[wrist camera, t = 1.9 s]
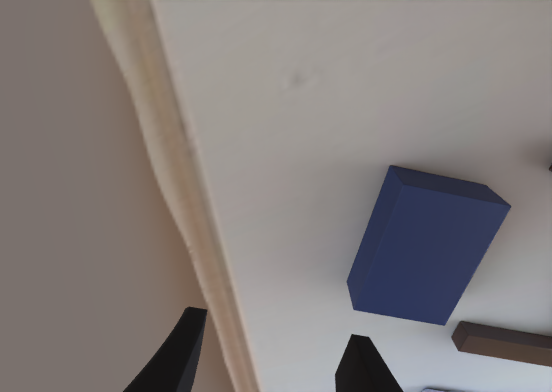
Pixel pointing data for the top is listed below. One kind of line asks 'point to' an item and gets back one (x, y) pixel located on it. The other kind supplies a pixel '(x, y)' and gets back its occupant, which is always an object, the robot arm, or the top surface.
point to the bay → (503, 343)
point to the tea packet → (423, 245)
